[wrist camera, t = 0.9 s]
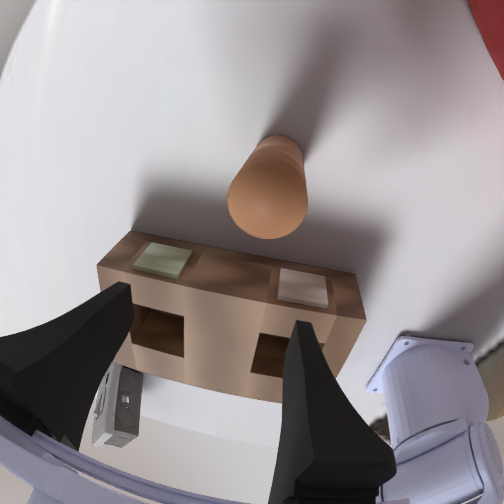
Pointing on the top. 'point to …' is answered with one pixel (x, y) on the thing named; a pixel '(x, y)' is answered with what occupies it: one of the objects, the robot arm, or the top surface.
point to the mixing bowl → (491, 28)
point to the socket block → (226, 313)
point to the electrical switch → (117, 407)
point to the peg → (270, 190)
